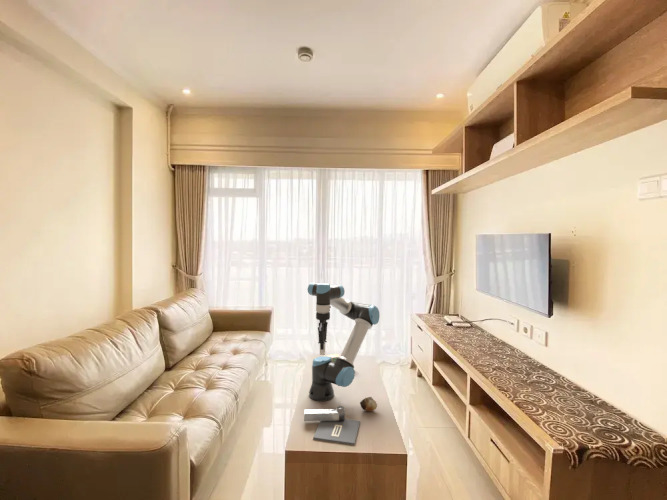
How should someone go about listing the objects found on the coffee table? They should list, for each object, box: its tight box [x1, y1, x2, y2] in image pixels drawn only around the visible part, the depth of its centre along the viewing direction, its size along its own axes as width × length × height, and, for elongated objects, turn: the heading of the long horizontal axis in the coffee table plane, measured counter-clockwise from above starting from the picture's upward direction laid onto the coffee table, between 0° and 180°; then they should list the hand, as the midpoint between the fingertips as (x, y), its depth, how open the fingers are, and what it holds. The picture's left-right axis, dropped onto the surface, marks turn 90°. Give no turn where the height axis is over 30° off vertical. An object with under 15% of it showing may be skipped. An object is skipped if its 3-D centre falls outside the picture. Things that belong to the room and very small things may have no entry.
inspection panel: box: [312, 418, 361, 446], centre depth 171 cm, size 20×20×1 cm
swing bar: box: [303, 405, 346, 422], centre depth 178 cm, size 21×4×6 cm, turn 94°
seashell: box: [359, 396, 378, 412], centre depth 191 cm, size 10×6×8 cm, turn 87°
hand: (322, 354), depth 187 cm, fingers closed
